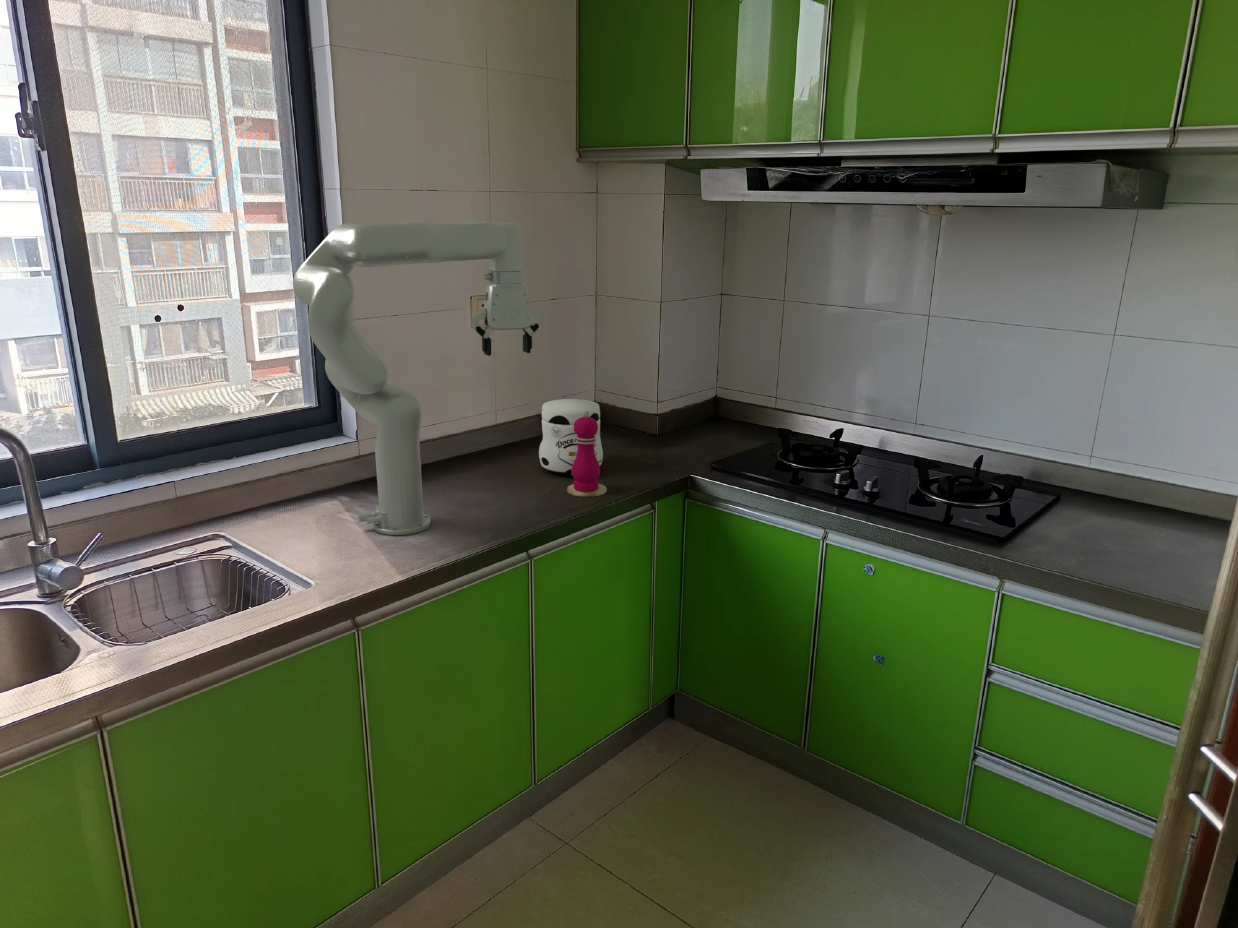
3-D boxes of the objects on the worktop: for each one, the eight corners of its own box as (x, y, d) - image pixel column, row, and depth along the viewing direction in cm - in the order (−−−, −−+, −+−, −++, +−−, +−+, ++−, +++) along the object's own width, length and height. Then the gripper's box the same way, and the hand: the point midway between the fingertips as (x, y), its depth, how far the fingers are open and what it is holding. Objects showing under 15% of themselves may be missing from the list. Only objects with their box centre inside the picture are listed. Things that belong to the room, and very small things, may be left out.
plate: (577, 499, 218) (577, 496, 218) (560, 487, 226) (560, 485, 226) (613, 493, 222) (613, 491, 222) (595, 482, 231) (595, 479, 231)
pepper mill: (605, 486, 225) (606, 409, 219) (590, 494, 219) (590, 416, 213) (581, 482, 229) (581, 406, 223) (566, 489, 223) (565, 412, 217)
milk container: (575, 483, 230) (575, 416, 224) (525, 471, 240) (524, 406, 234) (615, 468, 243) (616, 404, 238) (567, 457, 253) (567, 395, 248)
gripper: (475, 281, 195) (477, 358, 199) (548, 279, 202) (548, 354, 207) (464, 278, 201) (466, 353, 206) (535, 276, 209) (535, 349, 214)
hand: (507, 353), depth 207 cm, fingers open, 9 cm apart
